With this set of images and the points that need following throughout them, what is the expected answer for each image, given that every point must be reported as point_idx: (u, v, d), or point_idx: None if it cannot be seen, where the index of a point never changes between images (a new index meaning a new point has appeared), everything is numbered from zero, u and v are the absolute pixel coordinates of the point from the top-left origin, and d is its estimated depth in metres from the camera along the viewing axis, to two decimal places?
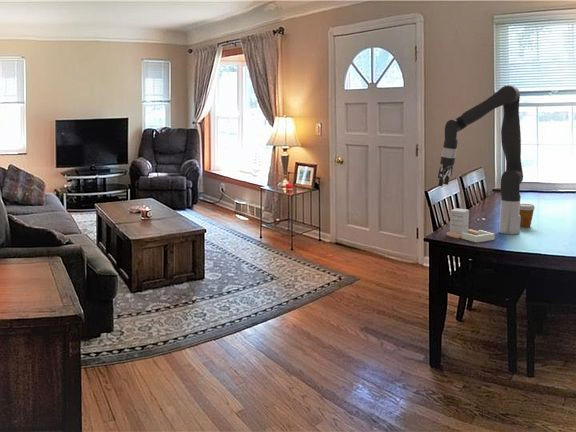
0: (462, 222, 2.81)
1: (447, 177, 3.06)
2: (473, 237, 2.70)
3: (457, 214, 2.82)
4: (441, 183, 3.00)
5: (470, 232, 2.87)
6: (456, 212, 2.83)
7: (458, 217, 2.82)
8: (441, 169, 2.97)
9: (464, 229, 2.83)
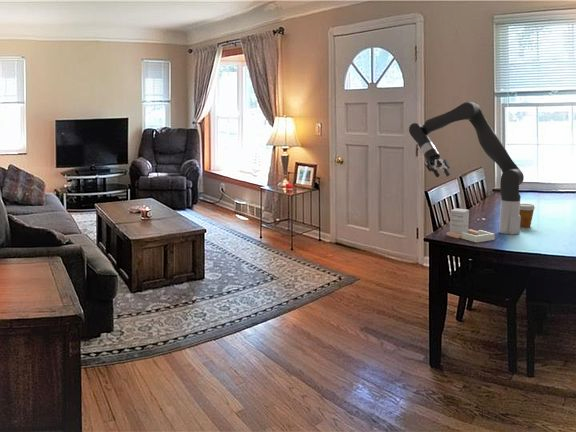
0: (462, 222, 2.81)
1: (445, 169, 3.00)
2: (473, 237, 2.70)
3: (457, 214, 2.82)
4: (436, 173, 2.95)
5: (470, 232, 2.87)
6: (456, 212, 2.83)
7: (458, 217, 2.82)
8: (425, 163, 2.99)
9: (464, 229, 2.83)
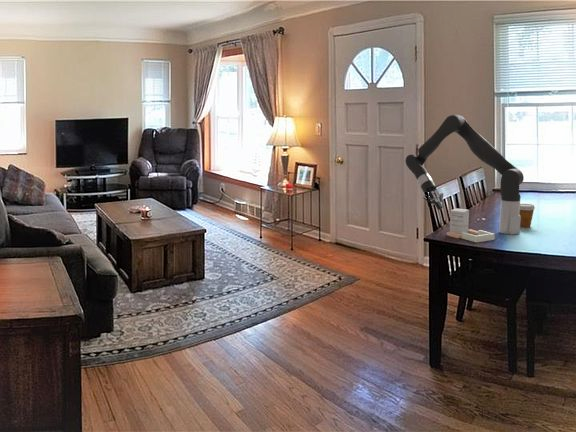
0: (462, 222, 2.81)
1: None
2: (473, 237, 2.70)
3: (457, 214, 2.82)
4: (438, 205, 2.98)
5: (470, 232, 2.87)
6: (456, 212, 2.83)
7: (458, 217, 2.82)
8: (425, 197, 3.00)
9: (464, 229, 2.83)
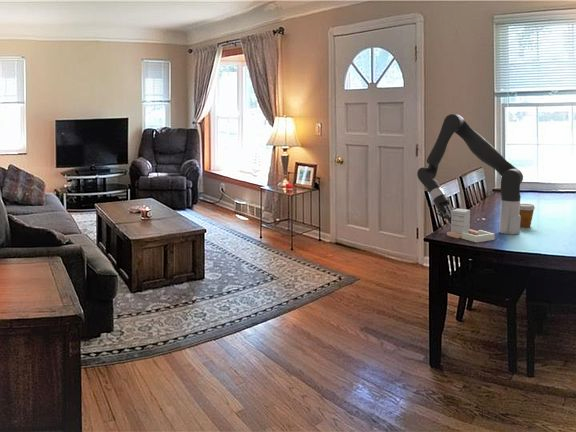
0: (463, 222, 2.81)
1: (450, 217, 2.92)
2: (473, 237, 2.70)
3: (458, 214, 2.82)
4: None
5: (470, 232, 2.87)
6: (457, 212, 2.82)
7: (459, 217, 2.82)
8: (438, 212, 2.92)
9: (465, 229, 2.82)
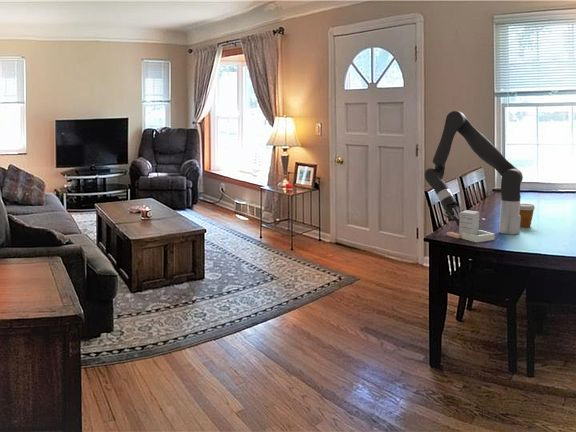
0: (471, 224, 2.76)
1: None
2: (473, 237, 2.70)
3: (466, 216, 2.77)
4: None
5: None
6: (465, 214, 2.77)
7: (467, 219, 2.77)
8: (445, 214, 2.86)
9: (473, 231, 2.77)
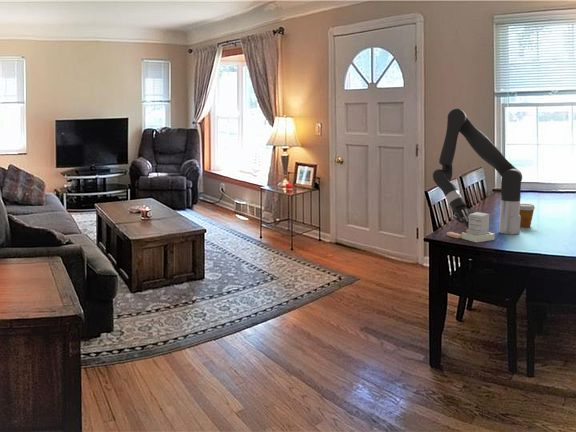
0: (480, 227, 2.70)
1: None
2: (473, 237, 2.70)
3: (475, 218, 2.71)
4: (468, 225, 2.79)
5: None
6: (474, 216, 2.72)
7: (477, 221, 2.71)
8: (455, 216, 2.80)
9: (483, 234, 2.71)
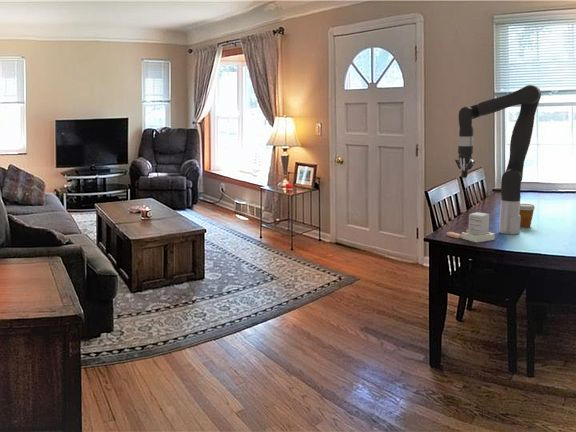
0: (480, 227, 2.70)
1: None
2: (473, 237, 2.70)
3: (475, 218, 2.71)
4: (466, 174, 2.95)
5: None
6: (474, 216, 2.72)
7: (477, 221, 2.71)
8: (472, 163, 2.89)
9: (483, 234, 2.71)
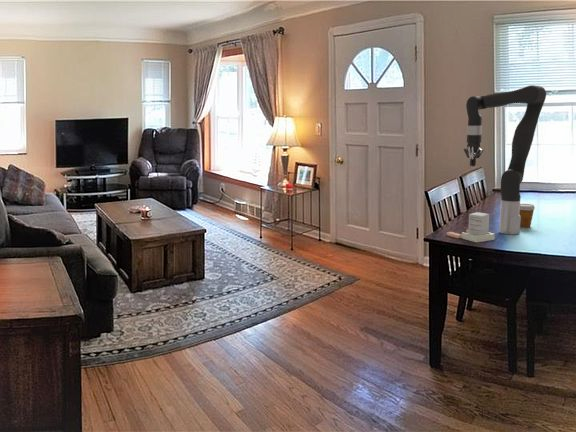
0: (480, 227, 2.70)
1: None
2: (473, 237, 2.70)
3: (475, 218, 2.71)
4: (475, 163, 3.00)
5: None
6: (474, 216, 2.72)
7: (476, 221, 2.71)
8: (481, 151, 2.95)
9: (483, 234, 2.71)
